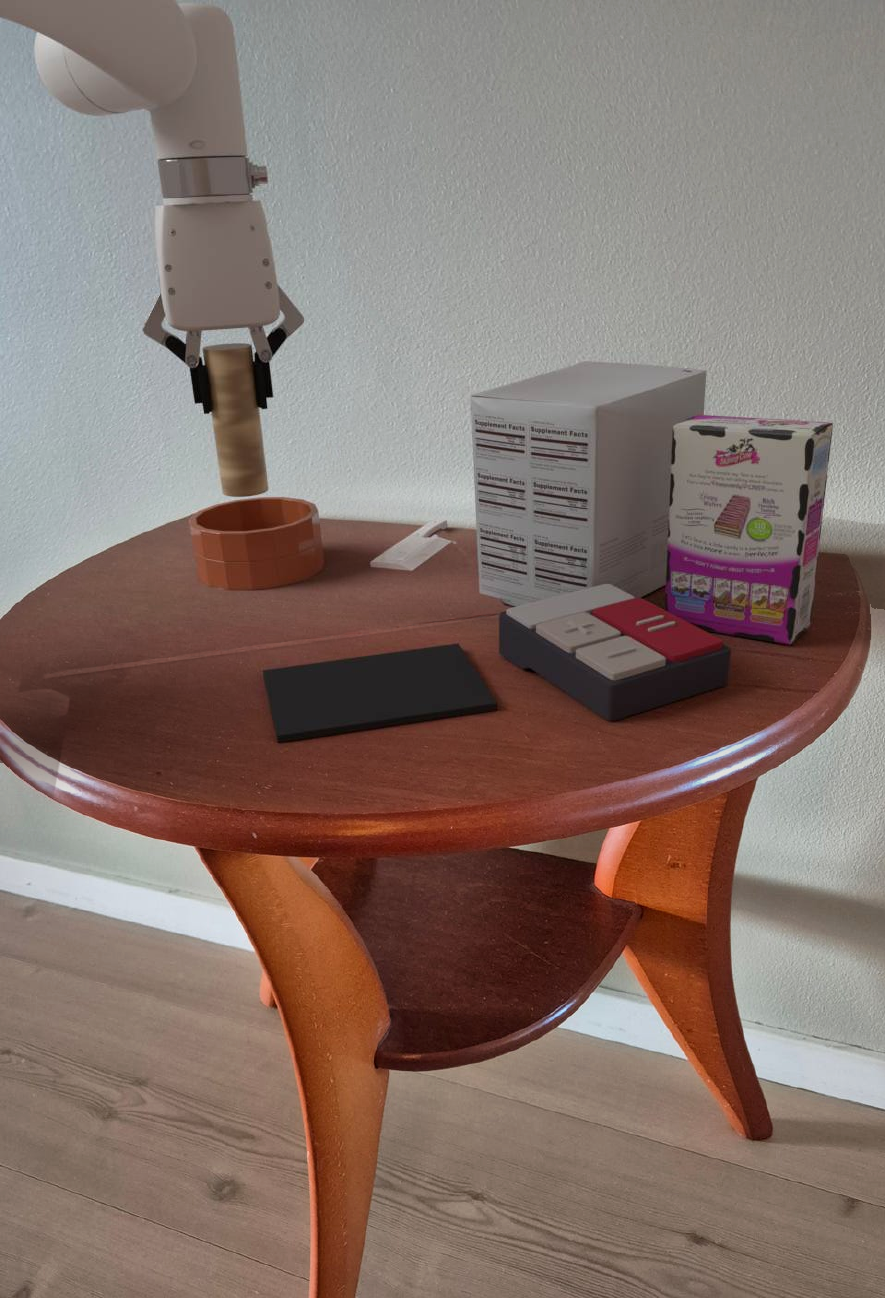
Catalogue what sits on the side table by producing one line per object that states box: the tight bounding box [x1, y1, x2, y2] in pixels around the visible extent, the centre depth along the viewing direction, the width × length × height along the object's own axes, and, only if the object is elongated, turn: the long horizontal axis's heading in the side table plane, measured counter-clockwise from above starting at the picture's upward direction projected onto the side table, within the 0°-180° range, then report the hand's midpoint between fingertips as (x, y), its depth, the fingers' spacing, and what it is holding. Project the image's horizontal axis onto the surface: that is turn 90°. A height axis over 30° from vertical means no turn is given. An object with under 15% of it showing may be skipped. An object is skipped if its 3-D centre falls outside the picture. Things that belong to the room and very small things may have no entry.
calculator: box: [498, 584, 732, 722], centre depth 83 cm, size 11×4×15 cm
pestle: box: [202, 342, 269, 498], centre depth 101 cm, size 4×4×13 cm
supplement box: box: [469, 360, 707, 607], centre depth 97 cm, size 17×13×18 cm
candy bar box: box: [663, 414, 834, 646], centre depth 86 cm, size 11×5×16 cm, turn 55°
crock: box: [188, 496, 325, 592], centre depth 107 cm, size 12×12×6 cm
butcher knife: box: [369, 518, 458, 572], centre depth 112 cm, size 5×15×1 cm, turn 155°
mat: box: [262, 643, 499, 744], centre depth 83 cm, size 16×12×1 cm
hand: (234, 406), depth 101 cm, fingers closed on pestle, 4 cm apart
